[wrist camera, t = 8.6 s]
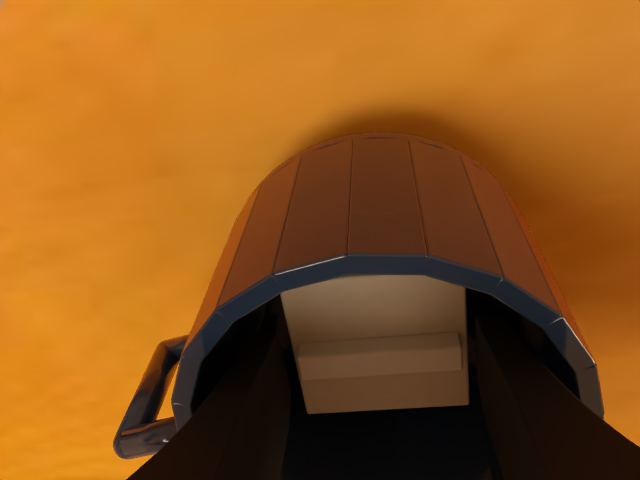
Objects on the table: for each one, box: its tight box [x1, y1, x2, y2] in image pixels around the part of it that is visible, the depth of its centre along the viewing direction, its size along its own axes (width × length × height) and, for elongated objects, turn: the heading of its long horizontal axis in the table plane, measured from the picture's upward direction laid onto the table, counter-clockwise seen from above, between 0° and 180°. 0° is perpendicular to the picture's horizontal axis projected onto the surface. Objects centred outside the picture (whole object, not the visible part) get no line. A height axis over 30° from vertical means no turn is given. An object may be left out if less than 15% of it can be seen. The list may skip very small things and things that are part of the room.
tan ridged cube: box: [280, 274, 470, 414], centre depth 16 cm, size 4×4×4 cm
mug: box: [113, 132, 604, 480], centre depth 15 cm, size 12×9×6 cm
